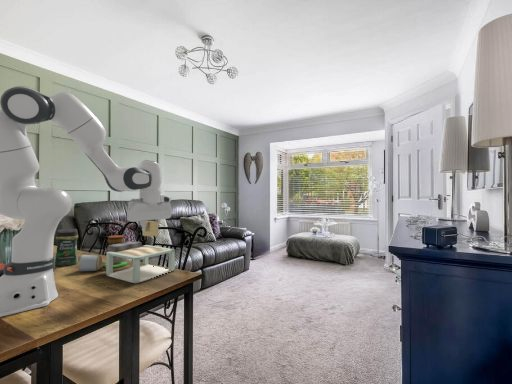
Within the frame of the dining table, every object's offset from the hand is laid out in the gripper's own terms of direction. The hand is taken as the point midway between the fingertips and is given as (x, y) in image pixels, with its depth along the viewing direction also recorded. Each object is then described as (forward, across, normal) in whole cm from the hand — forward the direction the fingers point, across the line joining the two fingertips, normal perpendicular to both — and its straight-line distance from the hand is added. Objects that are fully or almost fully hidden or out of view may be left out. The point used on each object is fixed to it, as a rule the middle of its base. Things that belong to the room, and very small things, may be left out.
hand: (150, 230), depth 116 cm
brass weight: (+2, 0, 0) cm, 2 cm away
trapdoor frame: (+21, +4, +11) cm, 24 cm away
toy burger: (+22, +6, +35) cm, 42 cm away
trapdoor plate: (+14, +4, +15) cm, 21 cm away
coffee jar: (+22, -7, +58) cm, 62 cm away
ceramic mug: (+22, -5, +37) cm, 43 cm away
